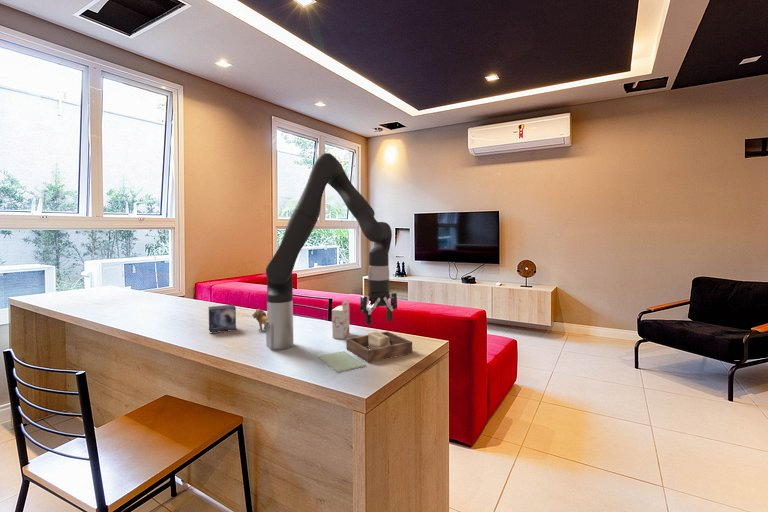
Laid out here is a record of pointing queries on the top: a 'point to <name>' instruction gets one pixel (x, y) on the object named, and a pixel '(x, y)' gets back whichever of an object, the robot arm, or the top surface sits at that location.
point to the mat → (341, 361)
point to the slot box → (396, 349)
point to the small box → (222, 318)
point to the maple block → (377, 340)
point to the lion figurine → (260, 318)
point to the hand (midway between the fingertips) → (379, 322)
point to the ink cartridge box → (340, 320)
